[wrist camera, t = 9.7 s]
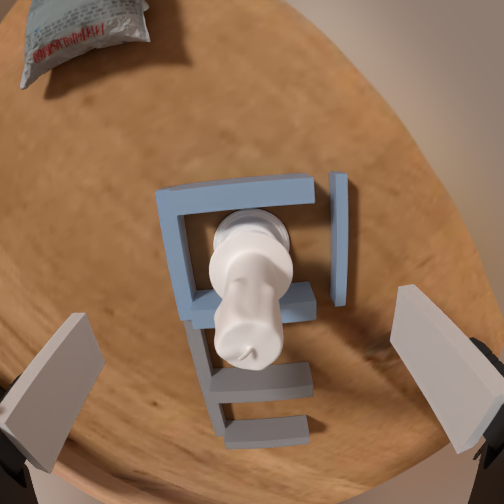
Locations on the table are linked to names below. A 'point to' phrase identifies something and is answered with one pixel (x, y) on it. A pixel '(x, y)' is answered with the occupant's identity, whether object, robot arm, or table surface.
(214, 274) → the candle
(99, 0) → the packaged food
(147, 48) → the table surface
